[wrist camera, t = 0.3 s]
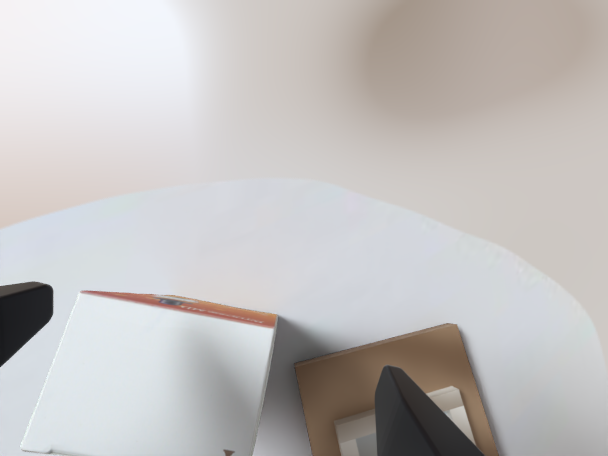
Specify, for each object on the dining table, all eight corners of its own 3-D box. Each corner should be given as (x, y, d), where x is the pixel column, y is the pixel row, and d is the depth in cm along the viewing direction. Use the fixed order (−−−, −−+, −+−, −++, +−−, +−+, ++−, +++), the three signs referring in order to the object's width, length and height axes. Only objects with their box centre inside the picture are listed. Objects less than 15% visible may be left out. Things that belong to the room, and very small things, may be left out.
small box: (279, 314, 22) (282, 326, 12) (262, 398, 20) (249, 494, 10) (169, 292, 21) (74, 285, 11) (144, 376, 20) (10, 454, 10)
